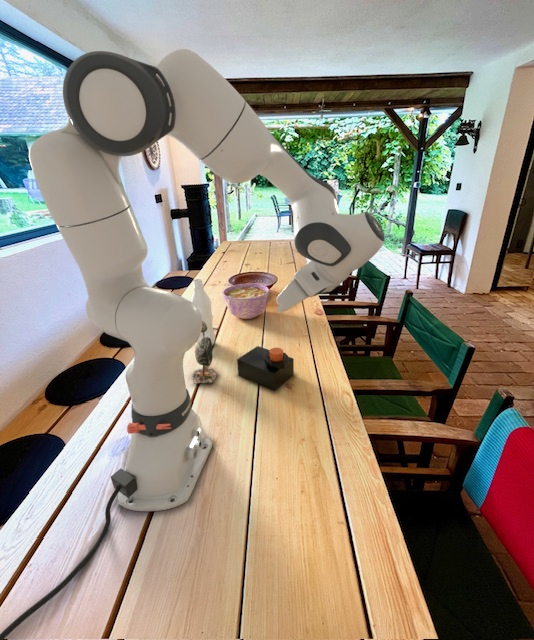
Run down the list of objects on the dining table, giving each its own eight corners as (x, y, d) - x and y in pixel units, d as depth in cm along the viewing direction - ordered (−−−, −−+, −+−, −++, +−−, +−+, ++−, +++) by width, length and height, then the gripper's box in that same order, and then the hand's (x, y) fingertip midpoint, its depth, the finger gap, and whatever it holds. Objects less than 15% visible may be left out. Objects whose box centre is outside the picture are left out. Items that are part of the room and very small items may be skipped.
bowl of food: (218, 323, 136) (215, 297, 131) (233, 305, 154) (231, 282, 149) (263, 326, 131) (262, 300, 126) (274, 308, 149) (273, 284, 144)
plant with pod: (222, 366, 105) (216, 310, 97) (212, 387, 95) (204, 326, 87) (198, 365, 106) (190, 309, 98) (186, 385, 96) (175, 325, 88)
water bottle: (212, 350, 115) (203, 283, 105) (193, 349, 116) (183, 283, 106) (218, 341, 121) (211, 277, 111) (200, 339, 123) (192, 276, 112)
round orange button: (286, 357, 94) (285, 349, 93) (278, 363, 91) (277, 355, 90) (275, 353, 97) (274, 346, 95) (266, 359, 94) (266, 351, 93)
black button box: (295, 375, 99) (295, 353, 95) (276, 392, 92) (275, 368, 88) (258, 361, 107) (257, 340, 104) (238, 375, 100) (236, 353, 97)
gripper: (335, 252, 82) (302, 282, 92) (293, 273, 68) (258, 307, 77) (350, 271, 82) (315, 300, 91) (311, 296, 67) (274, 328, 77)
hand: (289, 303), depth 84 cm, fingers open, 8 cm apart
